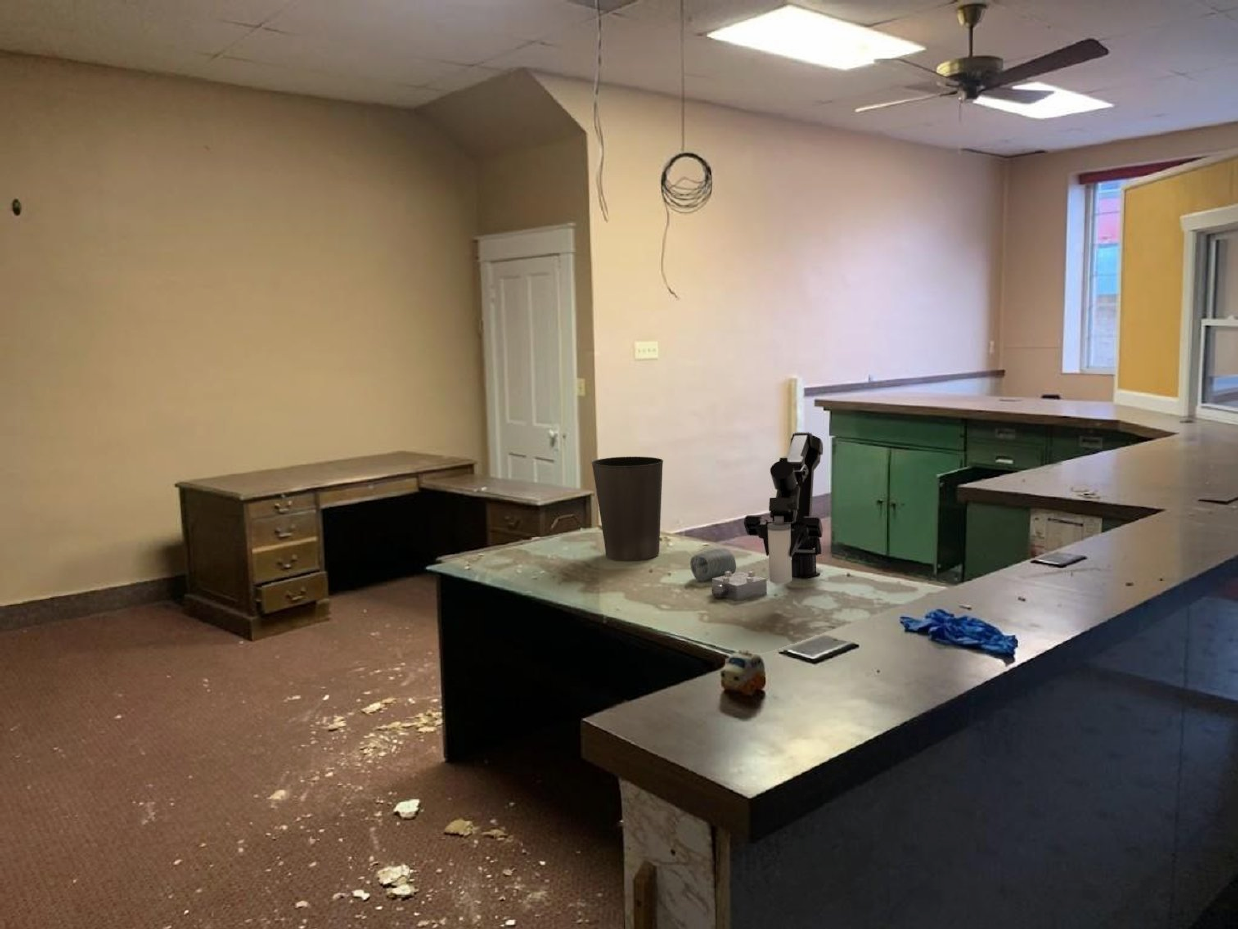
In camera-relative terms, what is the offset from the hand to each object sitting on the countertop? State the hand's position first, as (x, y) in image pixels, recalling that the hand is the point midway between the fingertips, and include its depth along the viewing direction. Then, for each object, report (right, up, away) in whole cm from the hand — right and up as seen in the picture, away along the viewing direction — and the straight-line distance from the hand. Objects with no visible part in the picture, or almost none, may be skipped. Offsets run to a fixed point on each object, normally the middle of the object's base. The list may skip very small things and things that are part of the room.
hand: (778, 555), depth 224 cm
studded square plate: (-9, -12, +16) cm, 22 cm away
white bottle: (+1, -6, +2) cm, 7 cm away
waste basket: (-35, -7, +67) cm, 76 cm away
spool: (-12, -10, +34) cm, 38 cm away
